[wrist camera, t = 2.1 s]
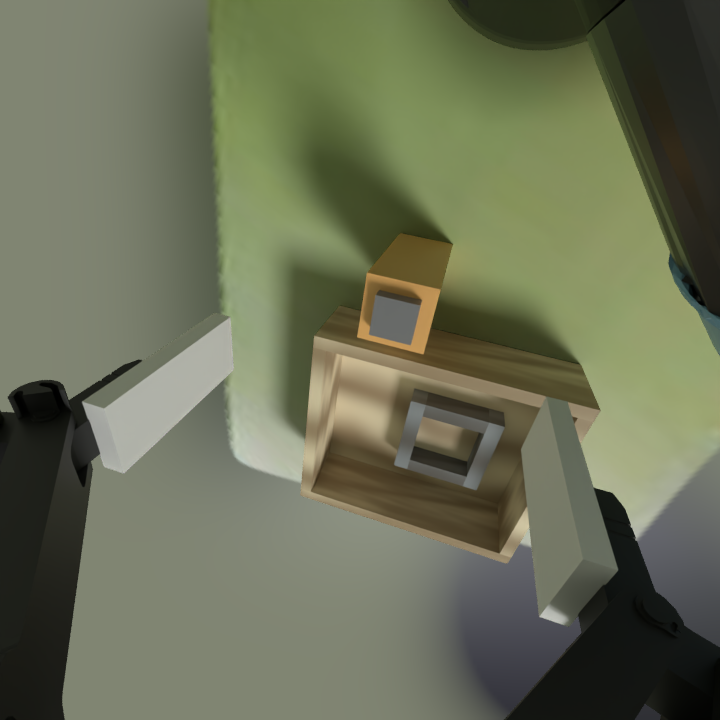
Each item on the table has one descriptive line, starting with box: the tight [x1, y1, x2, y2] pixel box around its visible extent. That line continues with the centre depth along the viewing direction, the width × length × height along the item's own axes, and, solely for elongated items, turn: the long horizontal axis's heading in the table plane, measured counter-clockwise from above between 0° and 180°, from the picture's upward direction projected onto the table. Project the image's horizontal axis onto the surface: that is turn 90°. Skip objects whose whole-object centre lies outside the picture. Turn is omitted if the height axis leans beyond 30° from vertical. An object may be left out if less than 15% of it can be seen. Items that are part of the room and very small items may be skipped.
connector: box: [357, 233, 453, 354], centre depth 25 cm, size 4×4×11 cm
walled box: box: [301, 306, 601, 564], centre depth 34 cm, size 18×20×6 cm
